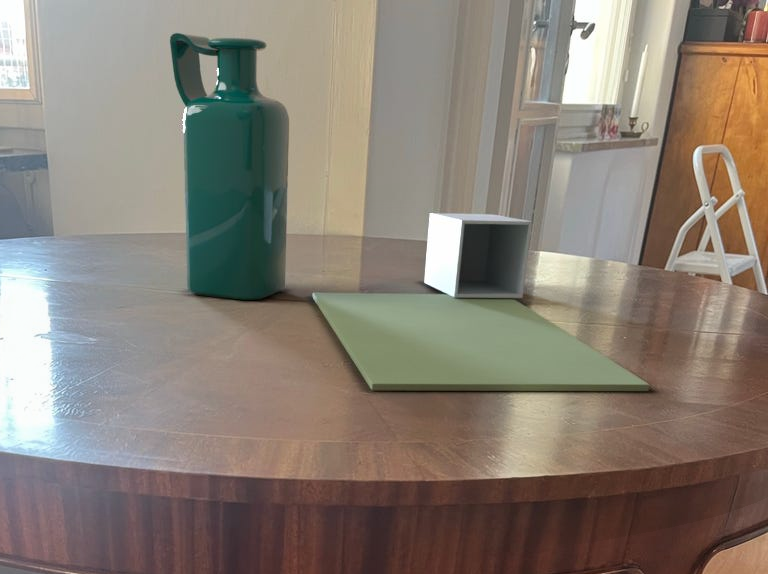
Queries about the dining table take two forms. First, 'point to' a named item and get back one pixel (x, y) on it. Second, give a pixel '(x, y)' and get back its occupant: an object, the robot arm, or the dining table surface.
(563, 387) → the mat
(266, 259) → the pitcher
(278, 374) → the dining table surface
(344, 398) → the dining table surface
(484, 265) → the bin
